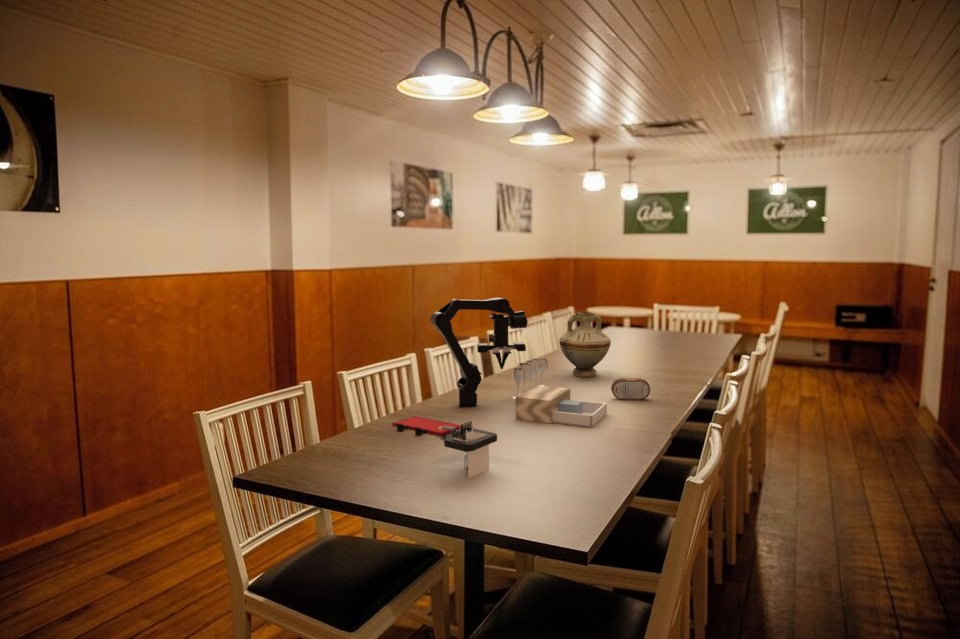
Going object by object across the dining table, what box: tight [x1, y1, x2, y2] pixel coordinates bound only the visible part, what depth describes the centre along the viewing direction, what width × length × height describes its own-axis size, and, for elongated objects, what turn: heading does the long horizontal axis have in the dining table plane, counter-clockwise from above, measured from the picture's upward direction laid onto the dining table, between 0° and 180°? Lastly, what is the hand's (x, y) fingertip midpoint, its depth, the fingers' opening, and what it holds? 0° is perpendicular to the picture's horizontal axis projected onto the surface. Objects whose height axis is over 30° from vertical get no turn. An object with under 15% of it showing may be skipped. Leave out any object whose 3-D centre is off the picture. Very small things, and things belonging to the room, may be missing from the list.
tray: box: [552, 399, 608, 428], centre depth 220 cm, size 15×18×4 cm
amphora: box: [558, 311, 612, 378], centre depth 291 cm, size 24×24×30 cm
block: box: [558, 399, 584, 414], centre depth 222 cm, size 5×6×7 cm
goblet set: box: [511, 357, 549, 400], centre depth 261 cm, size 28×6×13 cm, turn 150°
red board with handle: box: [391, 416, 463, 439], centre depth 209 cm, size 30×3×15 cm
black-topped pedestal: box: [443, 419, 498, 479], centre depth 170 cm, size 28×26×13 cm
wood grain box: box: [514, 384, 571, 424], centre depth 226 cm, size 13×20×8 cm
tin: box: [610, 377, 651, 401], centre depth 246 cm, size 15×3×8 cm, turn 84°
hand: (501, 368), depth 245 cm, fingers closed
